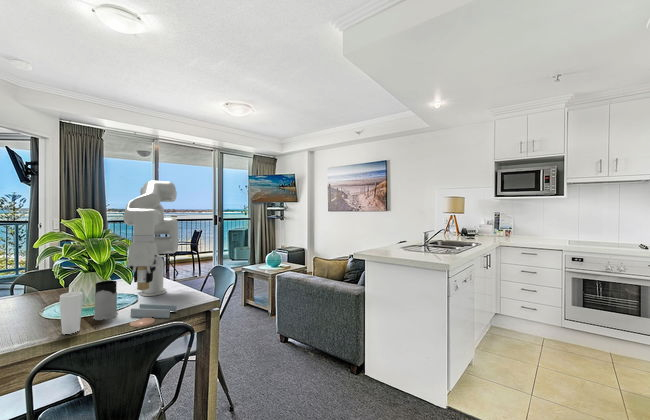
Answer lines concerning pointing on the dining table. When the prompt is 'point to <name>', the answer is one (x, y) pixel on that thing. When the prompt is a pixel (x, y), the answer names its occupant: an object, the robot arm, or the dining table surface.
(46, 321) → the dining table surface
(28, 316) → the dining table surface
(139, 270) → the sprinkles bottle
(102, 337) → the dining table surface
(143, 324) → the resting disc
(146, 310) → the acrylic walls
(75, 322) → the drinking glass
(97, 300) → the glass holder
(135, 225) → the robot arm
